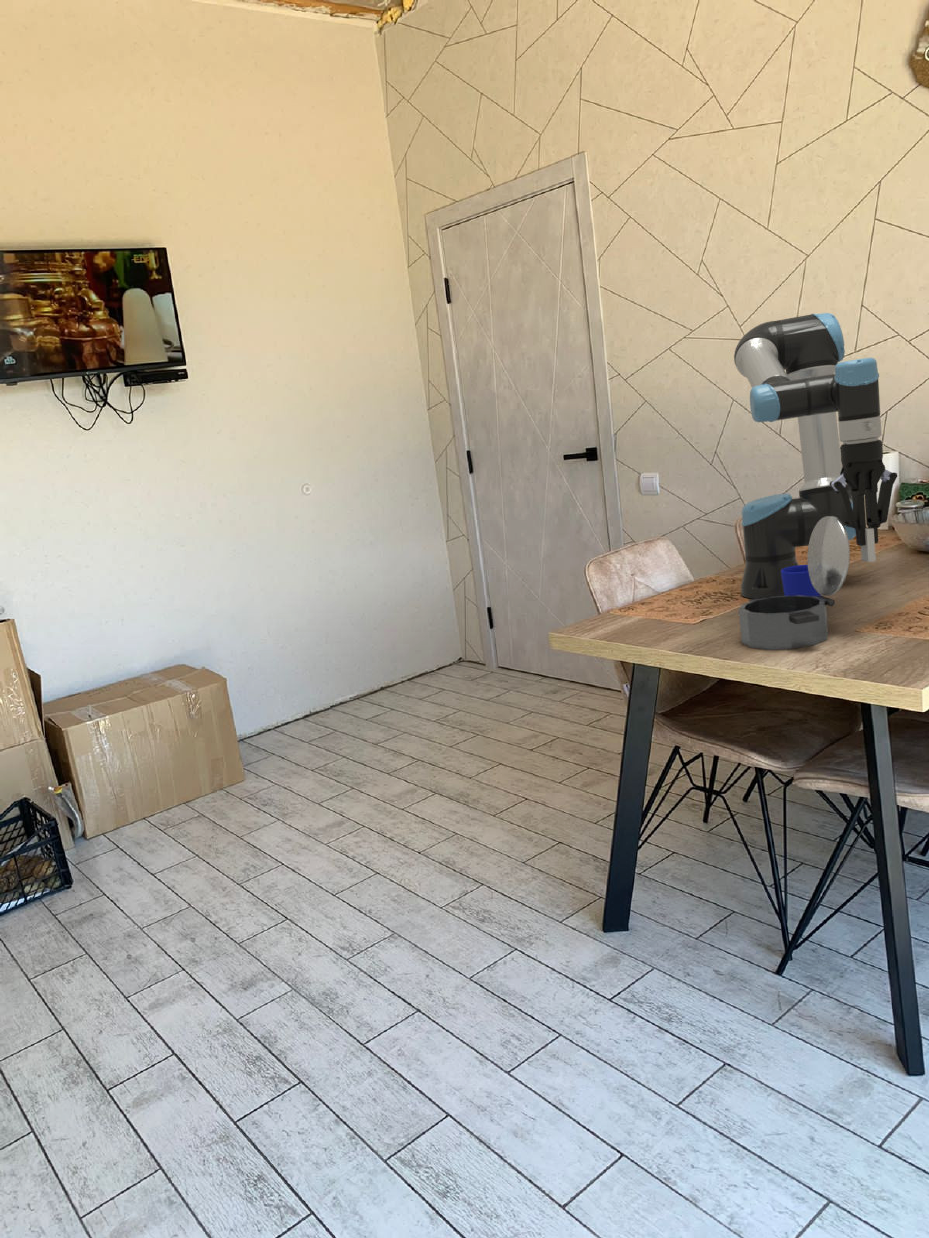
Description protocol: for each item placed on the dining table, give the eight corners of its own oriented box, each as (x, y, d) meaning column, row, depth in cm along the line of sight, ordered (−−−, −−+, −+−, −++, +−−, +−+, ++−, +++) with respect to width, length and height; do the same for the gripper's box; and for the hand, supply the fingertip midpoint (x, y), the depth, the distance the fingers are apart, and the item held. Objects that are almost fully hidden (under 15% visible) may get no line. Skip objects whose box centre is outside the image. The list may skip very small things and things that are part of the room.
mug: (823, 603, 210) (820, 560, 208) (824, 616, 199) (821, 570, 197) (784, 606, 213) (781, 563, 211) (784, 619, 202) (780, 573, 200)
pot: (725, 634, 197) (722, 601, 196) (805, 620, 198) (803, 588, 197) (769, 657, 175) (766, 621, 174) (859, 642, 177) (856, 606, 175)
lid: (811, 513, 191) (818, 513, 191) (804, 588, 193) (811, 588, 194) (849, 519, 175) (857, 519, 176) (841, 601, 178) (849, 601, 178)
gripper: (838, 446, 177) (846, 568, 181) (903, 435, 178) (910, 557, 182) (819, 446, 184) (828, 563, 188) (882, 436, 185) (889, 553, 189)
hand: (868, 560), depth 185 cm, fingers closed
